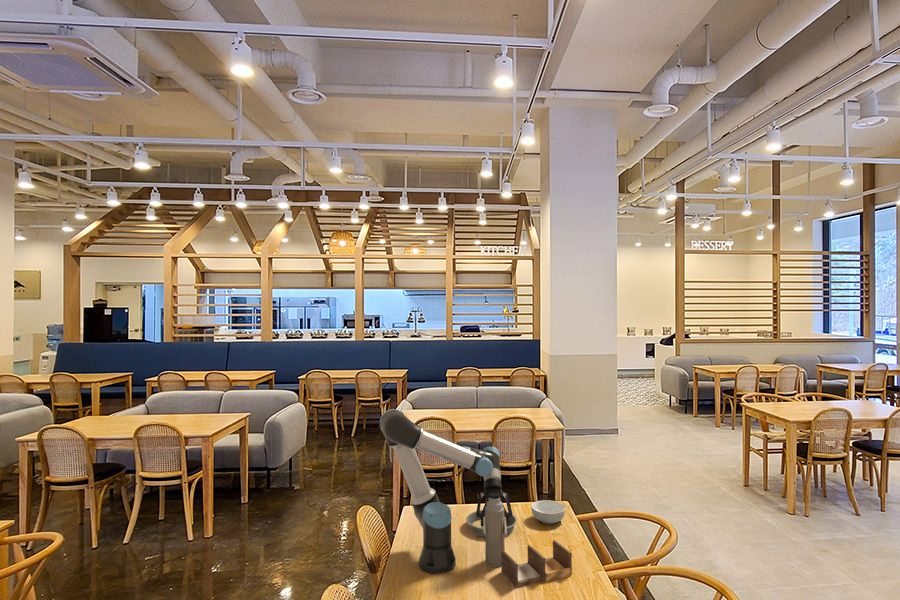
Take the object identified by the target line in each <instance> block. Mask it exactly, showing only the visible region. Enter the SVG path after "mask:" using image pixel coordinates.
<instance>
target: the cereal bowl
mask: <svg viewBox="0 0 900 600" xmlns="http://www.w3.org/2000/svg"><path fill="white" fill-rule="evenodd" d="M530 508H531V513H532V516H533V518H535V519H536V520H537V521H540V522H541V523H544V524H547V525H548V524H549V525H552V524H555V523H557V522H560V521H562V520H563V519H564V517H565V515H566V507H565V505H564V504H563V503H561V502H559V501H556V500H550V499H549V500H548V499H547V500H546V499H545V500H543V499H542V500H537V501H534V502H532V504H531V507H530Z"/></svg>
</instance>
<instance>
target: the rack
mask: <svg viewBox="0 0 900 600" xmlns="http://www.w3.org/2000/svg"><path fill="white" fill-rule="evenodd" d="M572 555H573V554H572V552H571V551H569V549H567V548H566V547H564V546H563V545H561V543H559V542H558V541H557V540H556V539H555V540H552V557H548V558H545V557H544V556H543V555H542V554H541V553H540V552H538V551H537V550H536V549H535V548H534V547H533V546H531V545H530V544H529V545H527V562H525V563H519V564H518V563H517V561H515V560H514V559H513V558H512V557H511V556H510V555H509V554H508V553H507V552H506V551H504V550H502V551H501V566H500V567H501V574H503V575H504V576H505V578H507V580H508V581H509V582H510V583H511V584H512V585H513V586H514V588H521V587H524V586H529V585H532V584H533V585H534V584H537V583H542V582H550V581H554V580H559V579H564V578H567V577H571V576H572V575H573V572H572V571H573V570H572V569H573V564H572V559H573V558H572Z"/></svg>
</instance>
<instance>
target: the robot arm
mask: <svg viewBox="0 0 900 600" xmlns="http://www.w3.org/2000/svg"><path fill="white" fill-rule="evenodd" d="M379 428H380V430H381V432H382V433H383V434H382V435H383V436H384V439H385V442H386V443H387V446H388V447H389V448H392V449H393V451H394V455H395V456H396V459H397V461H398V462H397V463H398V464H399V467H400V469H401V471H402V474H403V476H404V477H403V478H404V479H405V481H406V484H407V486H408V489H409V492H410V495H411V498H410V503H411V506H412V508H413V513H414V516H415V518H416V519H417V521H418V523H419V525H420V526H421V528H422V532H423V533H422V537H423V538H422V539H423V542H422V543H423V545H422V548H421V552H420V554H419V555H420V556H419V558H418V559H419V560H418V564H419V565H418V566H419V568H420V570H422V571H424V572H425V573H428V574H433V575H434V574H435V575H439V574H445V573H448V572H451V571H452V570H453V569H455V567H456V563H457V562H456V560H457V559H456V556H455V553H454V549H453V545H452V518H453V517H452V511H451V507H450V506H449V505H448V504H445V503H443V502H440V499H439V496H438V495H437V492H436V490H435V488H432V487H430V484H429V482H428V479H427V477H426V473H425V472H424V469H423V466H422V463H421V461H420V458H419V456H418V454H417V451H416V449H418V450H420V451H423V452H425V453H427V454H431V455H433V456H436V457H438V458H440V459H443V460H445V461H448V462H450V463H453V464H454V465H458V466H459V467H460V466H461V467H463V468H465V469H468V470H469V471H472V472H475V473H476V474H477V476H480V477H482V478H483V481H484V482H483V487H484V488H483V489H484V490H483V492H477V505H476V511H477V512H476V517H479V518H480V519H481V520H480V527H482V526H483V528H484V535H486V526H485V517H484V515H485V507H486V506H487V505H486V504H487V501H489V497H488V495H489V494H490V493H498V494H500V501H501V502H502V498H503V499H505V503H506V504H505V505H506V507H507V509H506V507H505V505H504V503H503V502H502V504H503V506H502V507H504V516H505V517H504V532H505V535H506V536H508V535H507V527H506V526H509V518H511V517H512V515H514V514H513V508H512V507H511V505H512V504H511V502H510V493H509V492H504V491H502V490H503V489H502V481H501V480H502V475H501V474H502V473H501V464H500V463H501V460H500V451H499V450H498V448H497V447H495V446H486V447H484V448H483V450H482V449H478V448H474V447H470V446H460V445H458V444H456V443H455V442H452V441H449V440H447V439H445V438H442V437H440V436H438V435H435V434H434V433H430V432H427V431H425V430H424V429H423V427H422V426H420V425H418V424H416V423H414V422H413V421H411V420H410V419H409V418H408V417H407V416H406V415H405V414H404V412H403V411H401V410H400V409H397V408H396V409H395V408H392V409H387V410H386V411H384V412H383V414H382V415H381V416H380V419H379ZM483 497H484V498H485V502H484V505H483V508H482V509H481V504H482V499H483ZM480 510H482V513H481V514H480ZM507 512H508V513H509V514H508V513H507Z"/></svg>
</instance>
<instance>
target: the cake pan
mask: <svg viewBox="0 0 900 600" xmlns="http://www.w3.org/2000/svg"><path fill="white" fill-rule="evenodd" d="M482 510H483V509H480V514H481V513H482ZM476 512H477V510H476V511H473V512H471V513H469V514H468V515H467V516H466V519H465V520H466V523H467V524H468V527H469V531H471V532H472V533H473V534H475V535H476V536H479V537H483V538H485V535H484V528H483V526H480V527H478V526H476V525H473V524H474V523H475V522H477V521H481V519H480V518H479V517H476ZM507 513H508V511H507ZM508 514H509V513H508ZM484 517H485V515H484ZM504 517H505V516H504ZM517 522H518V519H517V517H516V516H515V515H514V514H513V515H512V517H511V518H509V526H506V527H507V535H505V532H504V537H506V536H508V535H511V534H512V533H513V532H514V528H515V525H516V524H517Z"/></svg>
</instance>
